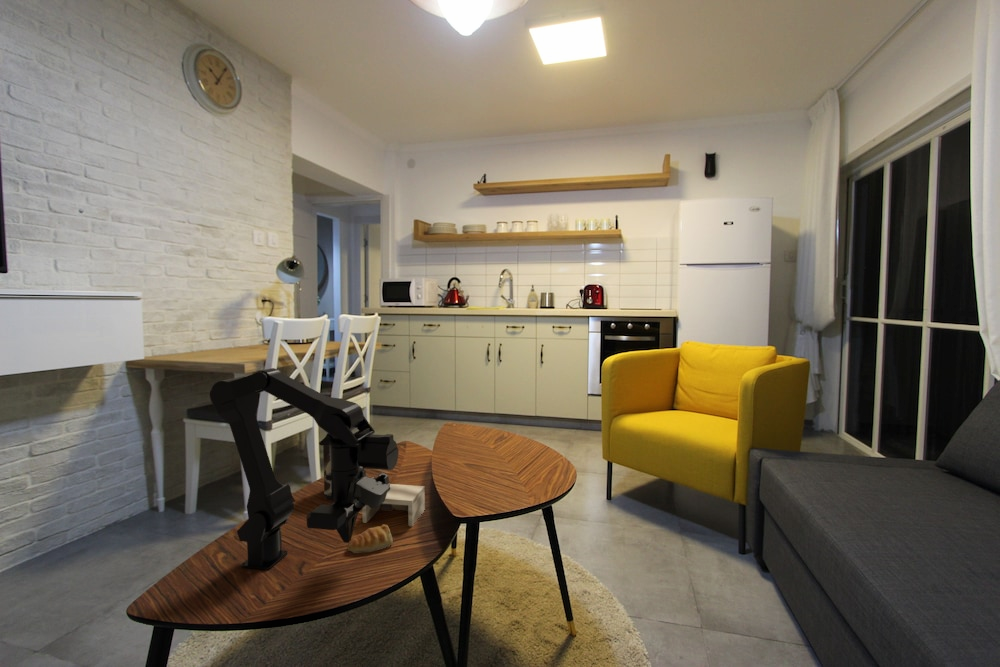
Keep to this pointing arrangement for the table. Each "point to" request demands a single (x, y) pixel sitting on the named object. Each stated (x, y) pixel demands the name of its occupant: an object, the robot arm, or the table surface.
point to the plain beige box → (400, 502)
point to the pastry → (371, 540)
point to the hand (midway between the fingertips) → (347, 541)
